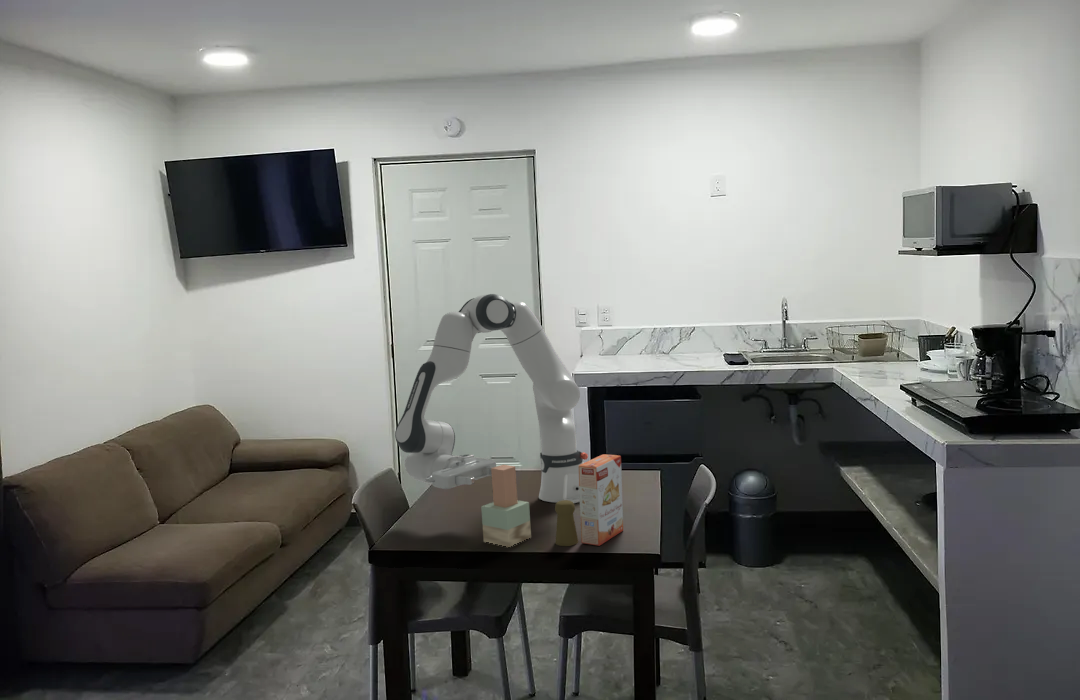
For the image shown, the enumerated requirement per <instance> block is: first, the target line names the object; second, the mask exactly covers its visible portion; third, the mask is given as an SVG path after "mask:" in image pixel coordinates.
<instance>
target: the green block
mask: <svg viewBox="0 0 1080 700" xmlns="http://www.w3.org/2000/svg"><path fill="white" fill-rule="evenodd" d="M480 508H481V509H480V511H481V523H482V524H481V525H482V526H483V525H486V526H491V527H496V528H501V529H505V530H509V529H511V528H514V527H516V526H518V525H521V524H523V523H526V522H528V521H530V522H531V514H530V502H529V501H524V500H518V504H515V505H512V506H509V507H506V508H505V507H500V506H496V505H494V501H491V502H489V503H486V504H484V505H481V507H480Z"/></svg>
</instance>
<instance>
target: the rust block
mask: <svg viewBox="0 0 1080 700" xmlns="http://www.w3.org/2000/svg"><path fill="white" fill-rule="evenodd" d="M491 472H492V476H491V486H492V498H493V502H494V505H496V506H500V507H505V508H506V507H509V506H512V505H515V504H518V491H517V489H518V486H517V474H516V473H517V471H516V466H514V465H508V464H500V465H498V466H497V465H496V467H494V468H491Z"/></svg>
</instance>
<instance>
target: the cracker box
mask: <svg viewBox="0 0 1080 700" xmlns="http://www.w3.org/2000/svg"><path fill="white" fill-rule="evenodd" d="M578 470H579V495H580V502H579V512H580V513H579V514H580V517H579V519H580V521H579V522H580V538H581V542H580V543H581V544H586V545H591V546H592V545H593V546H598V547H600V546H601V545H604V544H605V543H606V542H608V541H610V539H612V538H614V537H615V536H617V535H618V534H621V533H622V532H623V531H624V511H623V509H624V507H623V482H622V481H623V478H622V476H623V475H622V456H621V455H619V454H618V455H617V454H600V455H599V456H596V457H594V458H592V459H590V460H587V461H586V462H584V463H583V464H581V465H578Z"/></svg>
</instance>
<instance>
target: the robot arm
mask: <svg viewBox="0 0 1080 700" xmlns="http://www.w3.org/2000/svg"><path fill="white" fill-rule="evenodd" d="M536 316H537V315H535V313H534V312H533V311H532V309H531V308H530V306H528V304H526V302H524V301H513V302H510V301H509V300H508V299H506V298H505V297H503V296H501V295H499V294H495V293H490V294H481V295H478V296H476V297H473V298H471V299H469V300H467V301H466V302H465V303H464V304H463V306H461V308H460V309H459V311H450V312H447V313H445V314H443V316H442V317H441V319H440V322H439V324H438V326H437V330H436V333H435V336H434V341H433V344H432V345H433V347H432V349H431V353H430V355H429V356H428V359H427V360H426V362H424V363H423V364H421V366H420V368H419V369H418V371H417V374H416V376H415V379H414V382H413V385H412V388H411V390H410V394H409V396H408V400H407V401H406V406H405V409H404V411H403V414H402V416H401V418H400V420H399V421H398V424H397V426H396V428H395V433H394V437H395V441H396V444H397V446H398V447H399V449H400V450H402V452H404V453H408V454H407V456H406V457H405V461H404V468H405V471H406V473H407V475H408V476H409V477H410V478H412V479H413V480H416V481H419V482H422V483H425V484H431V485H432V486H433V487H435V488H437V489H442V490H449V489H452V488H453V489H454V488H455V487H458V486H463V485H467V486H468V485H469V486H471V485H474V484H475V481H478V480H480V479H483V478H487V477H492V472H491V468H494V467H497V463H496V461H495V460H493V459H490V458H486V457H480V456H475V455H474V454H461V455H455V454H453V453H454V452H453V451H454V449H455V446H456V445H455V444H456V434H455V431H454V428H453V427H452V425H451V424H450V423H448V422H446V421H445V422H444V421H439V420H433V419H425V414H426V411H427V408H428V405H429V402H430V399H431V396H432V393H433V391H434V390H435V389H436V387H438V386H439V385H440V384H444V383H445V382H450V381H452V380H455V379H458V378H459V377H461V376H462V375H463V374H464V373H465V372H466V371H467V368H468V366H469V362H470V357H471V351H472V343H473V341H474V338H475V337H476V335H477V334H479V333H486V334H487V333H491V332H494V331H499V330H500V331H501V332H503V334H504V335H505V336H506V339H507V340H508V343H509V344H510V346H511V348H512V351H513V352H514V354H515V356H516V357H517V359H518V361H519V363H520V365H521V366H522V369H523V370H524V371H525V373H526V374H527V375H528V377H529V378H530V381H532V391H533V396H534V403H535V408H536V415H537V420H538V425H539V437H540V453H539V457H540V458H539V467H540V471H541V481H540V482H541V483H540V489H539V494H538V499H539V500H542V502H543V501H544V502H549V503H557V502H558V501H562V500H569V501H572V502H573V503H574V504H576V503H577V504H578V503H580V495H579V470H578V465H581V464H583V463H585V462H584V461H583V460H588V458H589V455H588V453H586V452H582V451H580V450H578V449H577V437H576V436H577V433H576V431H577V430H576V425H575V421H574V418H573V414H572V409H574V408H575V407H576V406H577V404H578V403H579V401H580V397H581V392H580V389H579V386H578V385H577V383H576V381H575V379H574V378H573V376H572V374H571V373H570V371H569V370H568V368H567V367H566V365H565V364H564V362H563V361H562V359H561V358H560V356H559V354H557V352H556V350H555V349H554V347H553V345H552V343H551V341H550V339H549V337H548V336H547V334H546V332H545V330H544V328H543V326H542V325H541V323H540V321H539V319H538V317H536Z"/></svg>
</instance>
